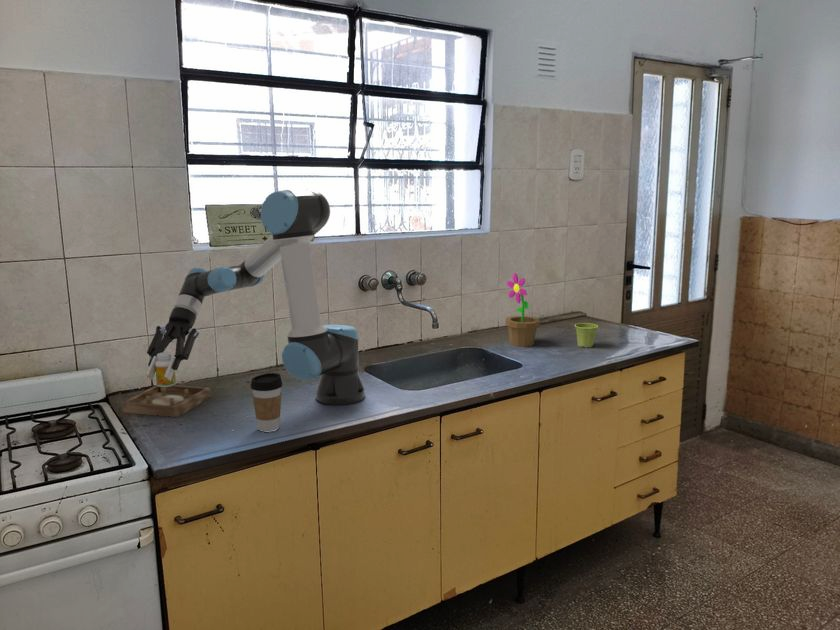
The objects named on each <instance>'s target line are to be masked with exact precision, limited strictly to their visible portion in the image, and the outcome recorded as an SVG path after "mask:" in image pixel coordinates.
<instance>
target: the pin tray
mask: <svg viewBox="0 0 840 630" xmlns="http://www.w3.org/2000/svg"><path fill="white" fill-rule="evenodd" d="M209 397H210V398H211V387H203V386H190V385H179V384H175V385H173V386H170V387H159V386H157V384H155V385H154V386H152V387H150V388H148V389H147V390H144V391H142V392H141V393H138V394H136V395H135V396H132V397H131V398H129V399H127V400H125V401H123V402H122V403H121V404H122V413H123V414H124V413H126V414H136V415H145V414H146V416H147V415H149V416H157V415H159V417H168V416H170V418H180V417H181V416H183V415H184V414H186V413H187V412H189V411H190V410H192V409H194V408H195V407H197V406H199V405H200V404H202V403H203V402H205V401H207V400H209V399H210V398H209Z"/></svg>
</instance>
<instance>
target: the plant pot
mask: <svg viewBox="0 0 840 630" xmlns="http://www.w3.org/2000/svg"><path fill="white" fill-rule="evenodd" d="M574 327H575V331H576V340H577V346H578V347H580V348H582V347H583V348H586V349H587V348H592V347H593V346H594V342H595V337H596V334H597V330H598V328H599V324H595V323H589V322H578V323H575V324H574Z"/></svg>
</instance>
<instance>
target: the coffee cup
mask: <svg viewBox="0 0 840 630" xmlns="http://www.w3.org/2000/svg"><path fill="white" fill-rule="evenodd" d="M282 387H283V381H282V377H281V374H280V373H275V372H268V373H263V374H259V375H256V376H254V377H252V378H251V383H250V389H251V390H252V399H253V401H252V402H253V406H254V407H253V409H254V413H255V414H254V415H255V419H256V426H257V430H258V429H259V430H262V431H271V430H275V429H277V428H279V427H281V424H280V423H281V422H280V421H281V408H282V407H281V405H282ZM279 429H280V428H279Z"/></svg>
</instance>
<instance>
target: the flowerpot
mask: <svg viewBox="0 0 840 630" xmlns="http://www.w3.org/2000/svg"><path fill="white" fill-rule="evenodd" d="M525 284H526V279H525V277H524V278H520V279H519V277H518V274H517V273H516V272H514V273H513V275H512V280H508V281H506V285H507V286H508V287H509V288H511V289H512V288H513V289H512V290H510V292H509V293H508V298H509V299H511V298H513V297H514V296H515V301H516V302H517V304H521V306H522V307H518V308H516V309H515V310H516V312H518V313H520V314H521V315H516V316H515V315H513V316H509V317H506V318H505V321H504V322H505V326H506V327H508V328H507V329H508V331H507V332H508V338H509V340H508V341H509V345H511V346H514V347H519V348H520V347H523V348H527V347H532V346H534V345H535V339H536V334H537V328H539V327H540V324H541V319H539V318H537V317H534V316H529V315H527V316H526V315H525V310H528V309H529V308H530V305H529V302H527V300H524V299H525V298H524V296H527V295H528V293H527V291H526V289H524V288H521V287H522V286H524V285H525Z"/></svg>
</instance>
